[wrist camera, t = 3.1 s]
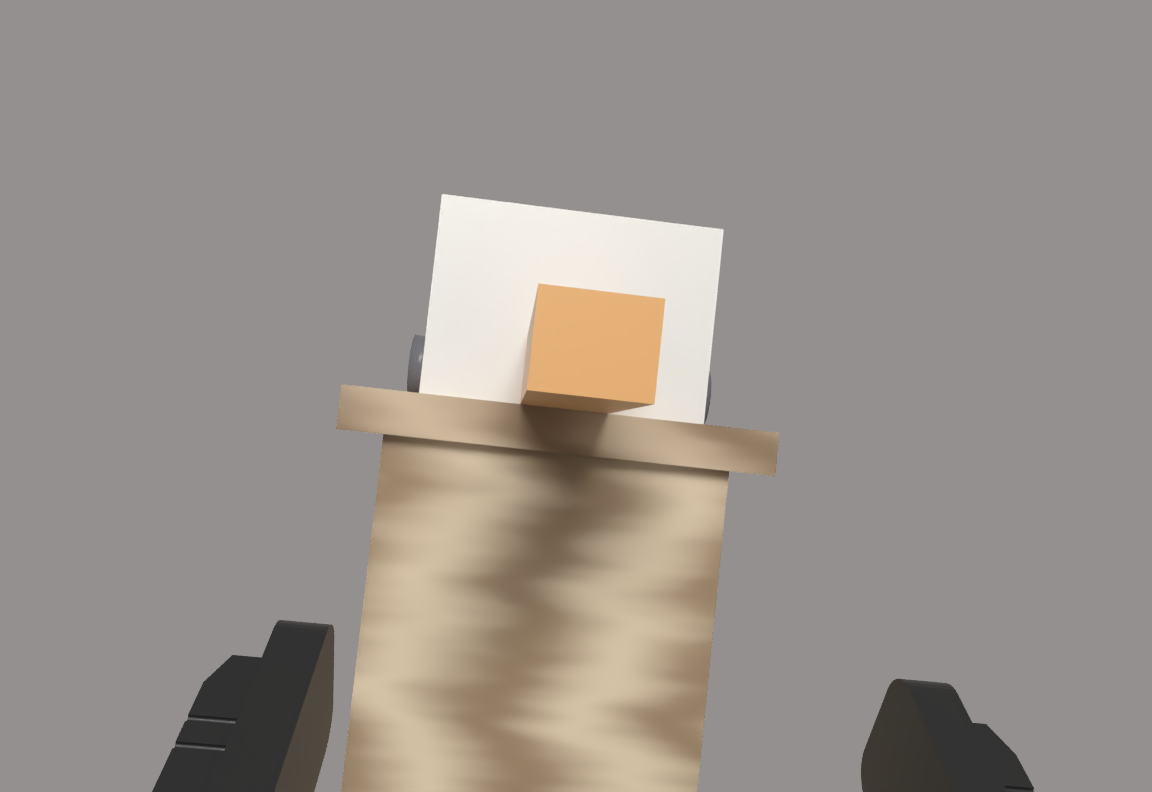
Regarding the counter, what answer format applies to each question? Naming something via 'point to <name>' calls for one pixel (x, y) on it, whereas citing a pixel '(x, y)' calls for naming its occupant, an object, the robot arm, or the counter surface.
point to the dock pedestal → (537, 595)
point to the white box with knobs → (569, 311)
